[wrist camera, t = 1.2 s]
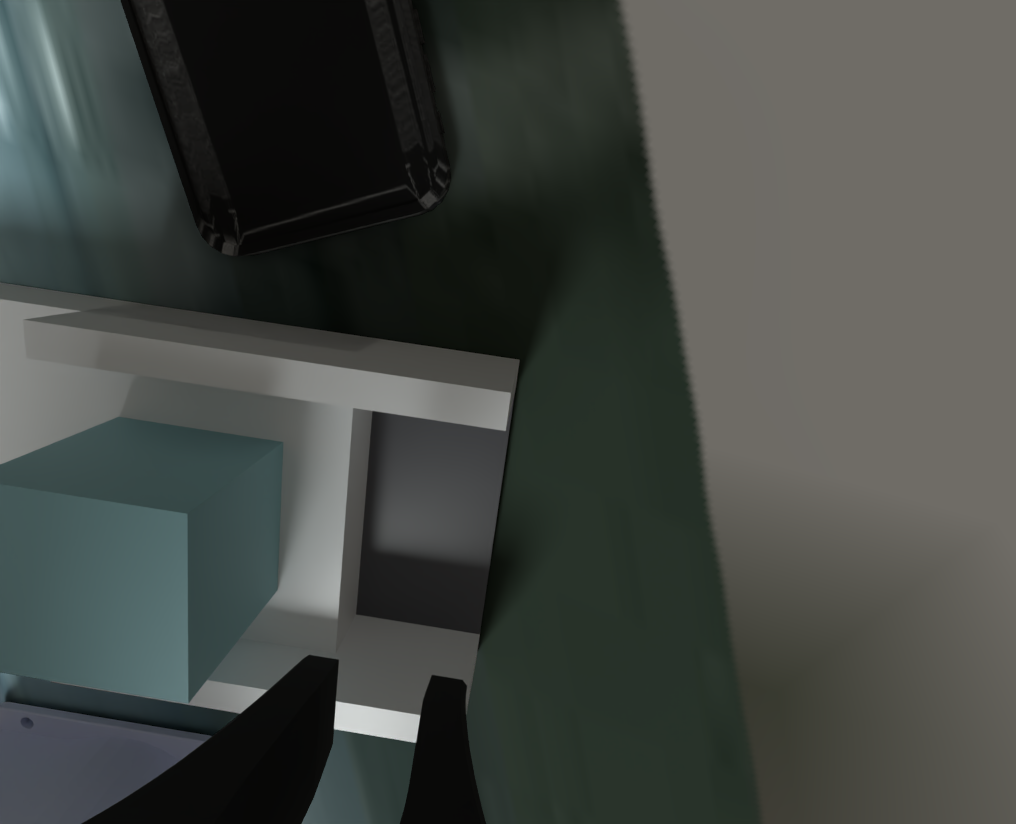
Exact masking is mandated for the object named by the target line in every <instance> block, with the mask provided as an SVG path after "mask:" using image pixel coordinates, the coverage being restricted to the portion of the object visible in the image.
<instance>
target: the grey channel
mask: <svg viewBox="0 0 1016 824" xmlns="http://www.w3.org/2000/svg"><path fill="white" fill-rule="evenodd" d="M519 362H520V360H519V359H512V358H505V357H498V356H492V355H485V354H478V353H471V352H465V351H458V350H451V349H445V348H438V347H431V346H424V345H418V344H411V343H404V342H397V341H391V340H384V339H377V338H371V337H364V336H357V335H350V334H344V333H337V332H330V331H324V330H317V329H310V328H303V327H297V326H290V325H283V324H276V323H270V322H263V321H256V320H250V319H243V318H236V317H229V316H223V315H216V314H209V313H202V312H196V311H189V310H182V309H176V308H169V307H162V306H155V305H149V304H142V303H135V302H128V301H122V300H115V299H108V298H102V297H95V296H88V295H81V294H75V293H68V292H61V291H55V290H48V289H41V288H34V287H28V286H21V285H14V284H7V283H1V282H0V464H3V463H5V462H8V461H10V460H13V459H15V458H18V457H20V456H23V455H25V454H28V453H30V452H33V451H35V450H37V449H40V448H42V447H45V446H47V445H50V444H52V443H55V442H57V441H60V440H62V439H65V438H67V437H70V436H72V435H75V434H77V433H80V432H82V431H85V430H87V429H89V428H92V427H94V426H97V425H99V424H102V423H104V422H107V421H109V420H112V419H114V418H117V417H124V418H130V419H137V420H143V421H150V422H156V423H163V424H169V425H176V426H182V427H189V428H195V429H202V430H208V431H215V432H221V433H228V434H234V435H241V436H247V437H254V438H260V439H267V440H273V441H280V442H283V464H282V489H281V514H280V539H279V564H278V588H277V591H276V593H275V594H274V595H273V597H272V598H271V599H270V600H269V602H268V603H267V604H266V605H265V607H264V608H263V609H262V611H261V612H260V613H259V614H258V616H257V617H256V618H255V619H254V621H253V622H252V623H251V625H250V626H249V627H248V628H247V630H246V631H245V632H244V634H243V635H242V636H241V637H240V639H239V640H238V641H237V642H236V644H235V645H234V646H233V648H232V649H231V650H230V651H229V653H228V654H227V655H226V656H225V658H224V659H223V660H222V662H221V663H220V664H219V665H218V667H217V668H216V669H215V670H214V672H213V673H212V674H211V676H210V677H209V678H208V679H207V681H206V682H205V683H204V684H203V686H202V687H201V688H200V690H199V691H198V692H197V693H196V695H195V696H194V697H193V699H192V700H191V701H190V702H189V704H187V703H181V702H175V701H169V700H163V699H157V698H151V697H145V696H139V695H133V694H127V693H121V692H115V691H109V690H103V689H97V688H91V687H85V686H79V685H73V684H67V683H61V682H55V681H51V682H54V683H60V684H66V685H72V686H78V687H84V688H90V689H96V690H102V691H108V692H114V693H120V694H126V695H132V696H138V697H144V698H150V699H156V700H162V701H169V702H175V703H181V704H187V705H193V706H199V707H205V708H211V709H217V710H223V711H229V712H235V713H242V712H243V711H244V710H245V709H246V708H248V707H249V706H250V705H251V704H252V703H254V702H255V701H256V700H257V699H258V698H259V697H261V696H262V695H263V694H264V693H265V692H266V691H268V690H269V689H270V688H271V687H272V686H273V685H274V684H275V683H277V682H278V681H279V680H280V679H281V678H282V677H283V676H284V675H285V674H287V673H288V672H289V671H290V670H291V669H292V668H293V667H294V666H295V665H297V664H298V663H299V662H300V661H301V660H302V659H303V658H305V657H306V656H308V655H314V656H320V657H326V658H333V659H339V666H338V680H337V693H336V707H335V720H334V729H337V730H343V731H349V732H355V733H361V734H367V735H373V736H379V737H385V738H391V739H397V740H403V741H409V742H415V743H416V740H417V734H418V727H419V721H420V715H421V709H422V703H423V698H424V695H425V692H426V690H427V687H428V684H429V681H430V678H431V676H432V675H437V676H443V677H449V678H455V679H461V680H463V681H464V682H465V684H466V685H467V691H466V713H467V707H468V702H469V696H470V690H471V685H472V679H473V674H474V668H475V662H476V657H477V651H478V644H479V637H480V630H481V623H482V616H483V610H484V603H485V596H486V589H487V582H488V575H489V568H490V561H491V554H492V548H493V541H494V534H495V527H496V520H497V513H498V506H499V499H500V492H501V486H502V479H503V472H504V465H505V458H506V451H507V444H508V437H509V431H510V424H511V417H512V410H513V403H514V396H515V389H516V382H517V375H518V369H519Z"/></svg>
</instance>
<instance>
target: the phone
mask: <svg viewBox="0 0 1016 824" xmlns="http://www.w3.org/2000/svg"><path fill="white" fill-rule="evenodd" d="M121 3H122V6H123V9H124V12H125V15H126V18H127V21H128V24H129V27H130V30H131V33H132V36H133V39H134V42H135V45H136V48H137V51H138V54H139V57H140V60H141V63H142V66H143V69H144V72H145V74H146V77H147V80H148V83H149V86H150V89H151V92H152V95H153V98H154V101H155V104H156V107H157V110H158V113H159V116H160V119H161V122H162V125H163V128H164V131H165V134H166V137H167V140H168V143H169V146H170V149H171V152H172V155H173V158H174V161H175V164H176V167H177V170H178V172H179V175H180V178H181V181H182V184H183V187H184V190H185V193H186V196H187V199H188V202H189V205H190V208H191V211H192V214H193V217H194V220H195V223H196V226H197V228H198V230H199V232H200V234H201V236H202V237H203V238H204V240H205V241H206V242H207V243H208V244H209V245H210V246H211V247H212V248H214V249H216V250H217V251H219V252H220V253H223V254H227V255H231V256H247V255H258V254H262V253H266V252H270V251H274V250H278V249H282V248H286V247H290V246H294V245H299V244H303V243H307V242H311V241H315V240H319V239H323V238H327V237H331V236H335V235H339V234H344V233H348V232H352V231H356V230H360V229H364V228H368V227H372V226H376V225H380V224H384V223H389V222H393V221H397V220H401V219H405V218H409V217H413V216H417V215H421V214H424V213H426V212H429V211H431V210H433V209H434V208H435V207H436V206H437V205H439V204H440V203H441V202H442V200H443V199H444V197H445V195H446V193H447V192H448V189H449V184H450V179H451V174H450V164H449V160H448V155H447V151H446V147H445V142H444V138H443V133H444V129H443V124H442V120H441V116H440V112H439V111H438V112H437V108H436V104H435V99H434V95H433V92H435V88H434V83H433V79H432V75H431V70H430V66H429V62H428V57H427V54H424V52H423V48H422V44H425V41H424V37H423V33H422V28H421V24H420V20H419V16H418V11H417V9H413V5H412V1H411V0H121Z"/></svg>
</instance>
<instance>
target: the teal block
mask: <svg viewBox="0 0 1016 824" xmlns="http://www.w3.org/2000/svg"><path fill="white" fill-rule="evenodd" d="M282 464H283V442H280V441H273V440H267V439H260V438H254V437H247V436H241V435H234V434H228V433H221V432H215V431H208V430H202V429H195V428H189V427H182V426H176V425H169V424H163V423H156V422H150V421H143V420H137V419H130V418H124V417H117V418H114V419H112V420H109V421H107V422H104V423H102V424H99V425H97V426H94V427H92V428H89V429H87V430H85V431H82V432H80V433H77V434H75V435H72V436H70V437H67V438H65V439H62V440H60V441H57V442H55V443H52V444H50V445H47V446H45V447H42V448H40V449H37V450H35V451H33V452H30V453H28V454H25V455H23V456H20V457H18V458H15V459H13V460H10V461H8V462H5V463H3V464H0V673H6V674H12V675H19V676H25V677H31V678H37V679H43V680H49V681H55V682H61V683H67V684H73V685H79V686H85V687H91V688H97V689H103V690H109V691H115V692H121V693H127V694H133V695H139V696H145V697H151V698H157V699H163V700H169V701H175V702H181V703H187V704H189V702H190V701H191V700H192V699H193V697H194V696H195V695H196V693H197V692H198V691H199V690H200V688H201V687H202V686H203V684H204V683H205V682H206V681H207V679H208V678H209V677H210V676H211V674H212V673H213V672H214V670H215V669H216V668H217V667H218V665H219V664H220V663H221V662H222V660H223V659H224V658H225V656H226V655H227V654H228V653H229V651H230V650H231V649H232V648H233V646H234V645H235V644H236V642H237V641H238V640H239V639H240V637H241V636H242V635H243V634H244V632H245V631H246V630H247V628H248V627H249V626H250V625H251V623H252V622H253V621H254V619H255V618H256V617H257V616H258V614H259V613H260V612H261V611H262V609H263V608H264V607H265V605H266V604H267V603H268V602H269V600H270V599H271V598H272V597H273V595H274V594H275V593H276V591H277V588H278V564H279V539H280V514H281V489H282Z"/></svg>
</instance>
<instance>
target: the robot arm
mask: <svg viewBox="0 0 1016 824" xmlns="http://www.w3.org/2000/svg"><path fill="white" fill-rule="evenodd" d="M338 666H339V659H333V658H326V657H320V656H314V655H308V656H306V657H305V658H303V659H302V660H301V661H300V662H299V663H298V664H297V665H295V666H294V667H293V668H292V669H291V670H290V671H289V672H288V673H287V674H285V675H284V676H283V677H282V678H281V679H280V680H279V681H278V682H277V683H275V684H274V685H273V686H272V687H271V688H270V689H269V690H268V691H266V692H265V693H264V694H263V695H262V696H261V697H259V698H258V699H257V700H256V701H255V702H254V703H252V704H251V705H250V706H249V707H248V708H246V709H245V710H244V711H243V712H242V713H240V714H239V715H238V716H237V717H236V718H234V719H233V720H232V721H231V722H230V723H228V724H227V725H226V726H225V727H223V728H222V729H221V730H220V731H218V732H217V733H216V734H215V735H213V736H209V735H204V734H198V733H192V732H186V731H180V730H174V729H168V728H162V727H156V726H150V725H144V724H138V723H132V722H126V721H120V720H114V719H108V718H102V717H96V716H90V715H84V714H78V713H72V712H66V711H60V710H54V709H48V708H42V707H36V706H30V705H24V704H18V703H12V702H3V703H1V704H0V824H301V823H302V821H303V819H304V817H305V815H306V813H307V811H308V809H309V806H310V804H311V802H312V800H313V798H314V795H315V792H316V790H317V787H318V784H319V781H320V779H321V776H322V773H323V770H324V767H325V765H326V762H327V759H328V756H329V753H330V750H331V747H332V744H333V734H334V720H335V707H336V693H337V680H338ZM466 691H467V685H466V684H465V682H464V681H463V680H461V679H455V678H449V677H443V676H437V675H432V676H431V678H430V681H429V684H428V687H427V690H426V692H425V695H424V698H423V703H422V709H421V715H420V721H419V727H418V734H417V740H416V746H415V753H414V759H413V765H412V771H411V778H410V784H409V789H408V794H407V799H406V803H405V808H404V812H403V815H402V818H401V822H400V824H486V822H485V818H484V815H483V811H482V807H481V802H480V798H479V794H478V790H477V785H476V781H475V776H474V770H473V765H472V759H471V753H470V748H469V740H468V732H467V722H466Z"/></svg>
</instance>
